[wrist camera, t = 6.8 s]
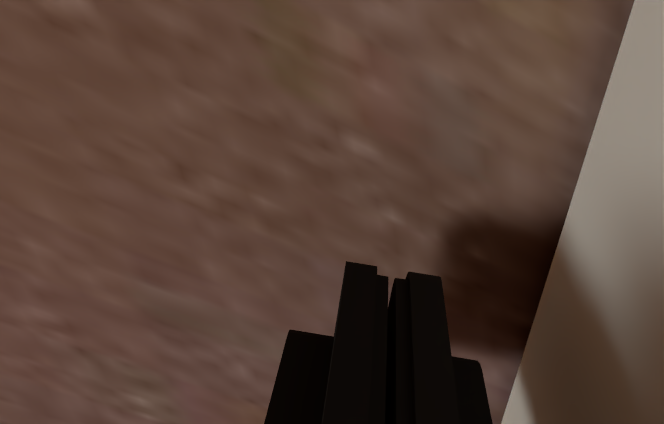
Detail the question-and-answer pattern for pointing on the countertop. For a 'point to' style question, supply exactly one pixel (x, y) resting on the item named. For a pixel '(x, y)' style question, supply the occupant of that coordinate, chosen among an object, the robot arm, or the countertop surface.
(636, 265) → the gate
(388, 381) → the robot arm
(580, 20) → the countertop surface
